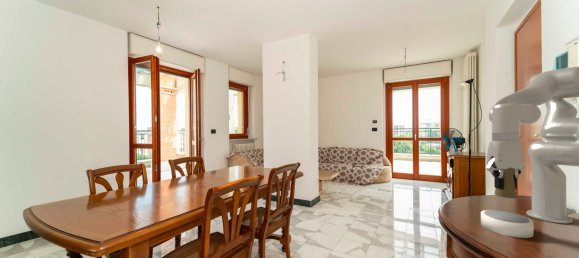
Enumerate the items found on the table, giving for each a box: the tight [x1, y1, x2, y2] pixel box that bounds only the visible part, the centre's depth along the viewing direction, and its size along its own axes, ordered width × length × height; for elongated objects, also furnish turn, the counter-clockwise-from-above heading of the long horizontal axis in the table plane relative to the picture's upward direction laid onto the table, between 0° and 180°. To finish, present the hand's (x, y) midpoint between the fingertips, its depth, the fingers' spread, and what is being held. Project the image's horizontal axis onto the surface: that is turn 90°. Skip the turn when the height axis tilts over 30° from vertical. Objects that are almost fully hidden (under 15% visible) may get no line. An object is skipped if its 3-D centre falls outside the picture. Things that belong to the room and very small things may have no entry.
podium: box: [480, 209, 535, 239], centre depth 86 cm, size 14×14×5 cm
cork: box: [494, 168, 518, 199], centre depth 86 cm, size 6×6×11 cm
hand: (505, 188), depth 86 cm, fingers closed on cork, 4 cm apart
